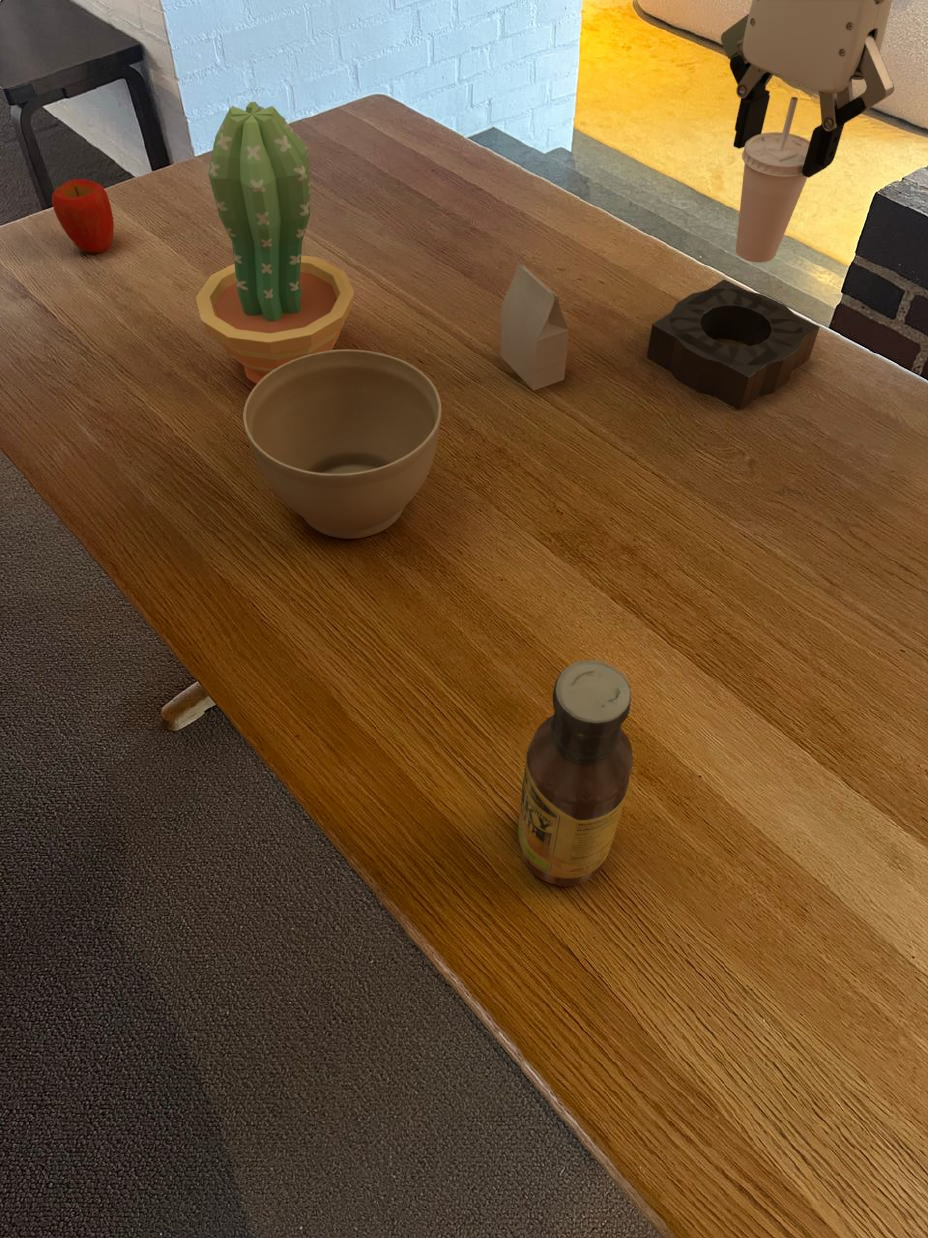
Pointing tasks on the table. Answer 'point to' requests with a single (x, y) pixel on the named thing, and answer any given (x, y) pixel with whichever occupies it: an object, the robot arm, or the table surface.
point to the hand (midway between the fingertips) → (780, 154)
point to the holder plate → (723, 367)
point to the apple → (85, 214)
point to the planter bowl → (344, 437)
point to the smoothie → (770, 189)
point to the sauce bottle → (576, 775)
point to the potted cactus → (268, 249)
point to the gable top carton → (533, 331)
